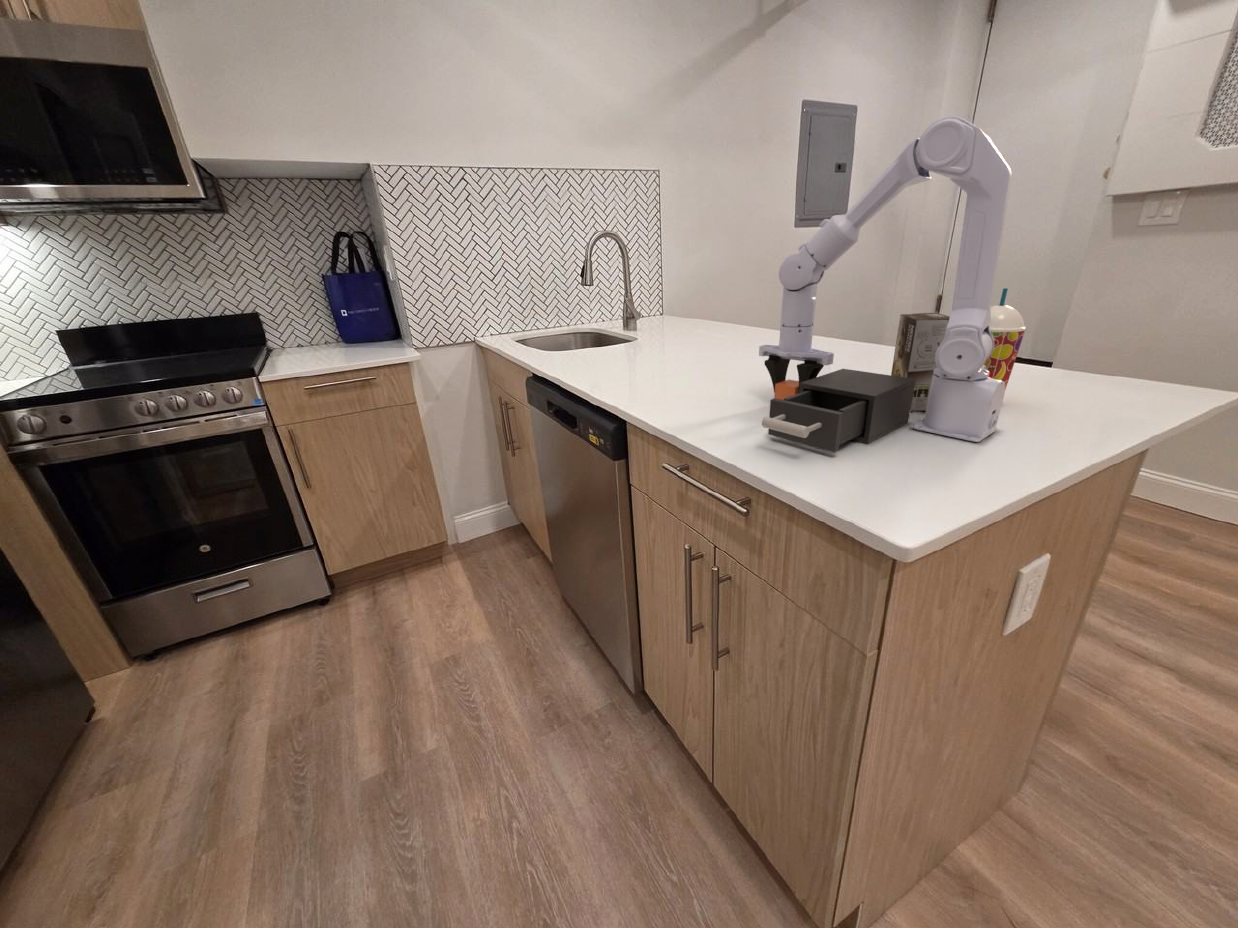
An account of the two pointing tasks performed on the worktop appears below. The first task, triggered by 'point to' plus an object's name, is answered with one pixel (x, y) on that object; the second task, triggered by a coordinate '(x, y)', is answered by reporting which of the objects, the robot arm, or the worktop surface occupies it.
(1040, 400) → the worktop surface
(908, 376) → the coffee box
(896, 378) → the dark drawer unit
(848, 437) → the open pull-out drawer
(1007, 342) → the smoothie
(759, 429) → the worktop surface
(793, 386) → the block
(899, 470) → the worktop surface
